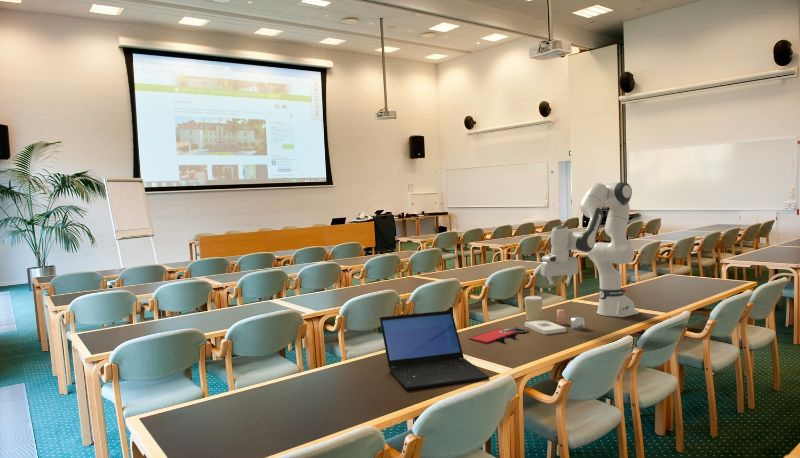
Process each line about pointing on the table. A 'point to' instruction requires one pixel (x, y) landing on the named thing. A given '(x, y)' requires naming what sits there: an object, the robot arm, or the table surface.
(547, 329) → the white flat block
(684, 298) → the table surface
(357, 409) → the table surface
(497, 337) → the red board with handle
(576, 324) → the clear glass block
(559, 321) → the terracotta peg
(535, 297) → the coffee cup
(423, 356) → the laptop
